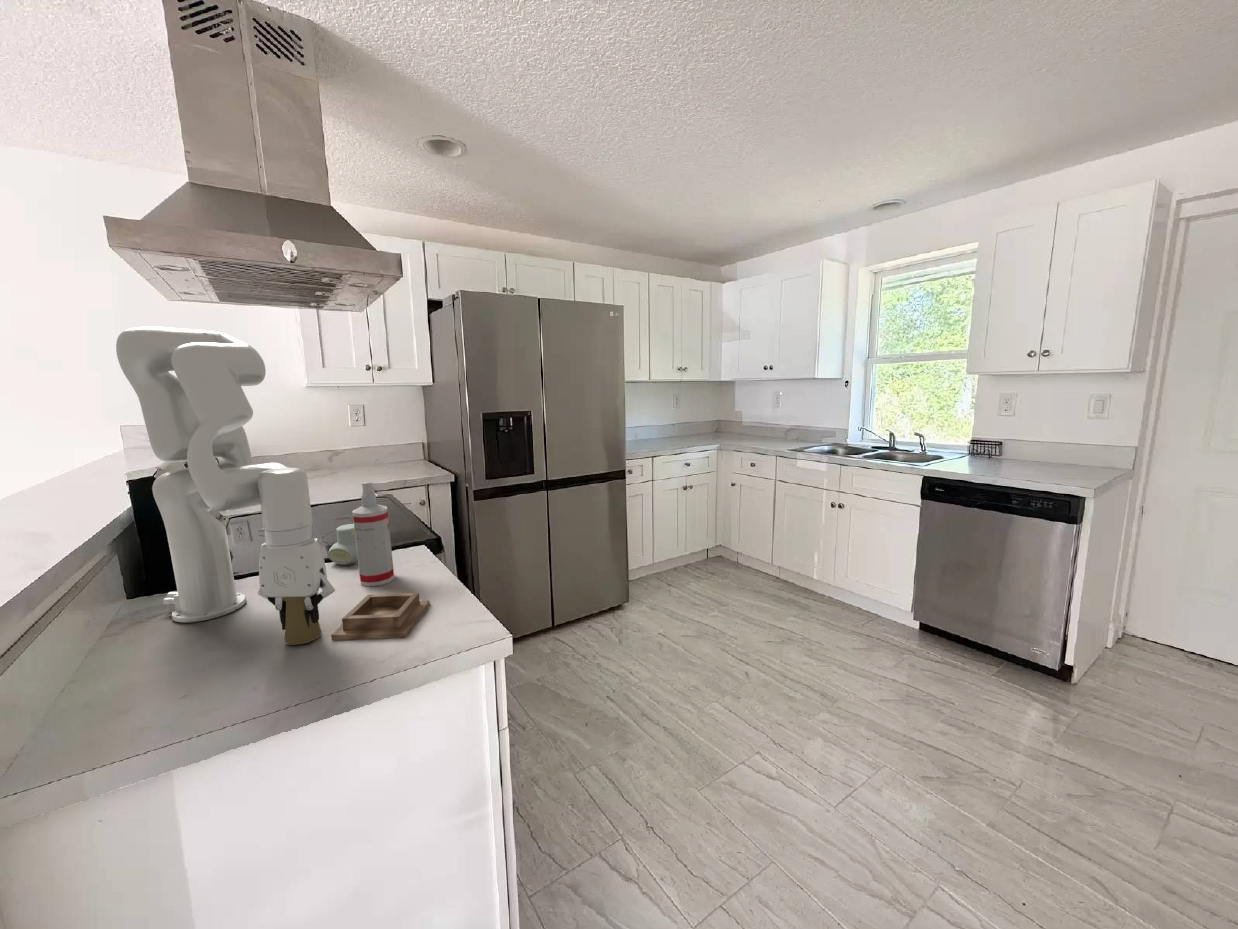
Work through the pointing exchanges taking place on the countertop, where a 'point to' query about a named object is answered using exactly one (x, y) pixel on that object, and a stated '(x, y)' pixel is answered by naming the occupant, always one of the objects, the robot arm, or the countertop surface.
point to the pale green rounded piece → (344, 546)
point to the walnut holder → (382, 617)
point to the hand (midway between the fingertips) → (300, 625)
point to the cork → (298, 622)
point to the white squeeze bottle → (373, 540)
